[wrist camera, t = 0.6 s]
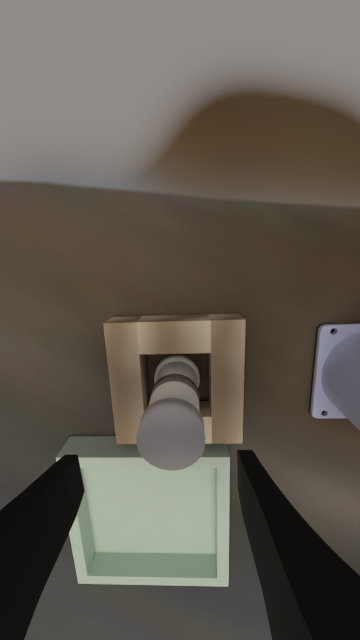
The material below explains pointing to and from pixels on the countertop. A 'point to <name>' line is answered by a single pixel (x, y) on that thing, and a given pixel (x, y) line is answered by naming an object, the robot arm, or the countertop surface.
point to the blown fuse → (173, 416)
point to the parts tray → (150, 517)
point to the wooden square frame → (178, 338)
